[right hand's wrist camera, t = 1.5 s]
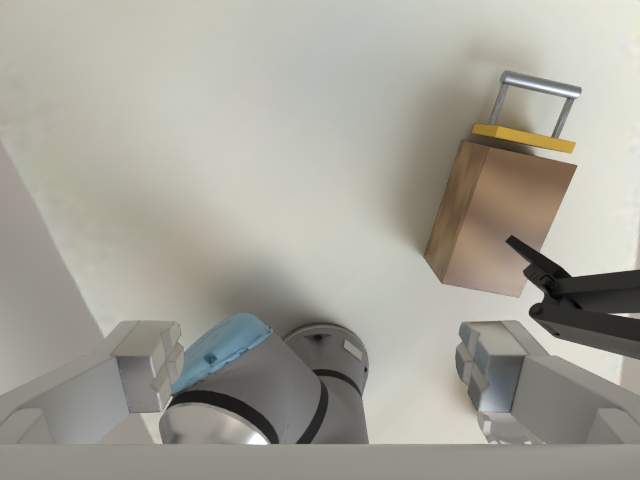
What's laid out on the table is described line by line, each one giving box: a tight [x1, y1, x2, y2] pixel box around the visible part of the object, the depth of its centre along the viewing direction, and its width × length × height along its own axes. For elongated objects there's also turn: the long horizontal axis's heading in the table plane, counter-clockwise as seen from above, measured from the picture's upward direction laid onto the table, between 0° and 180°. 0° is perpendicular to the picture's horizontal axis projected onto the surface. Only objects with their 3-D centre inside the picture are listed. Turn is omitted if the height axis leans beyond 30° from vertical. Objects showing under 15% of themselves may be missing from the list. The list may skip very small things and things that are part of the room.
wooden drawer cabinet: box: [424, 140, 577, 297], centre depth 47 cm, size 17×10×8 cm, turn 169°
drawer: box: [472, 70, 582, 153], centre depth 45 cm, size 22×9×6 cm, turn 169°
